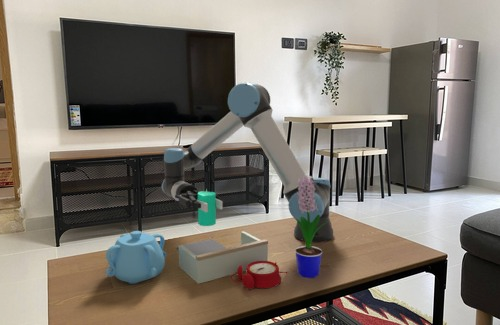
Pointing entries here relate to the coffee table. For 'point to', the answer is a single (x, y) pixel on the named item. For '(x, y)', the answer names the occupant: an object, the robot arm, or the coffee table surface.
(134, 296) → the coffee table surface
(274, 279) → the alarm clock
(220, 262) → the white u-shaped frame
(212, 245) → the slate tile
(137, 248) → the decorative pot
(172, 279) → the coffee table surface
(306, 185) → the hyacinth
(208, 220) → the candle
